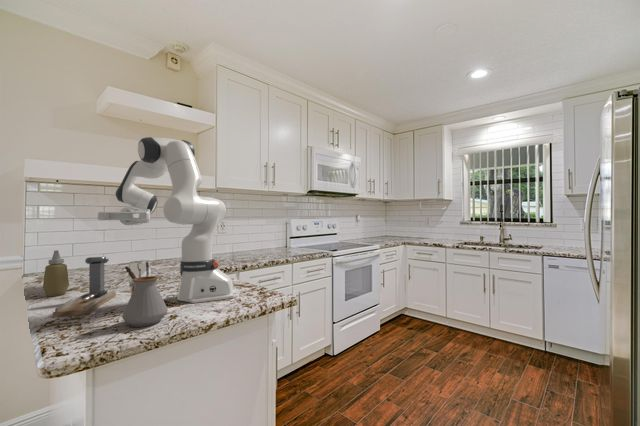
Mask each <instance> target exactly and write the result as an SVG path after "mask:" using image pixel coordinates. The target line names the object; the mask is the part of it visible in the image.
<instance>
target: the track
mask: <svg viewBox="0 0 640 426" xmlns="http://www.w3.org/2000/svg"><path fill="white" fill-rule="evenodd" d="M88 293H89V292H86V293H84V294H82V295H79V296H78V297H76V298H74V299H72V300H70V301H68V302H66V303H64V304H62V305H60V306H58V307H56V308H54V311H53V312H52V318H60V317H62V318H63V317H72V316H73V317H74V316H84V315H88V314H90V313H91V312H93V311H95V310H96V309H98V308H100V307H101V306H102V305H104V304H106V303H107V302H109V301H110V300H112V299H114V298H115V297H117V292H116V291H115V289H112V290H110V291H107V294H105V295H103V296H101V297H94V298H92V299H90V300H88V301H86V302H84V301H83V299H84V298H85V297H86V294H88Z"/></svg>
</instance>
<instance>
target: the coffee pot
mask: <svg viewBox="0 0 640 426" xmlns="http://www.w3.org/2000/svg"><path fill="white" fill-rule="evenodd" d="M124 269H125V270H126V271H123V270H124ZM121 271H122V273H125V272H126V273H127V274H128V273H129V275H130V277H131V278H132V279H133V281H134V282H135V286H136V287H135V289H134V291H133V293H132V295H131V294H130V298H129V299H128V303H127V304H126V306H125V309H124V311H123V312H122V317H121V318H122V319H123V321H124V323H126V324H129V325H130V327H135V328H140V327H148V326H152V325H156V324H158V323H159V322H161V320H162V319H163V318H164V317H165V316H166V315H167V313H168V306H167V305H166V302H165V301H164V298H163V296H162V295H161V293H160V291H159V289H158V287H157V280H158V279H159V276H157V275H155V276H154V275H151V276H147V277H139V278H136V276H135V275H134V273H133V272H132V271H131V269H129V266H125V267H123V268H122V270H121Z"/></svg>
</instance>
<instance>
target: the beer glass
mask: <svg viewBox="0 0 640 426" xmlns="http://www.w3.org/2000/svg"><path fill="white" fill-rule="evenodd" d="M128 267H129V269H131V271H132V272H133V273H134V275H135V276H136V278H139V277H147V276H152V271H151V270H152V269H151V261H150V260H146V259H145V260H133V261H129V262H128ZM127 275H128V276H127V277H128V278H127V279H128V285H129V288H130V296H131V295H132V293H133V291H134V289H135V287H136V286H135V282H134V281H133V279H132V278H131V277H130V275H129V273H128V272H127Z"/></svg>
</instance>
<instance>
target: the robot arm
mask: <svg viewBox="0 0 640 426" xmlns="http://www.w3.org/2000/svg"><path fill="white" fill-rule="evenodd" d="M137 153H138V157H139V158H140V160H136V161H134V162H132V163H131V164H130V166H128V167H129V168H128V170H127V171H126V173H125V175H124V177H123V179H122V181H121V183H120V185H119V186H118V187H117V189H116V191H115V197H116V199H117V201H119V202H121V203H124V204H125V205H126V204H127V205H129V206H126V207H125V206H124V207H123V208H122V209H120V210H119V211H100V212H99V211H98V212H97V220H98V221H119V222H120V223H121V224H122V225H125V226H139V225H142V224H147V223H151V215H152V214H153V213H154V212H155V210H156V208H157V205H158V199H157V196H156V194H153V193H152V192H150V191H147V190H145V189H142V188H140V187H138V186H137V185H135V184H134V183H135V181H136V179H137V178H144V179H157V178H161V177H162V176H164V174H166V172H167V170H168V174H169V177H170V181H171V184H172V186H171V187H172V191H171V195H170V196H169V197H168V198H167V199H166V200H165V202H164V204H163V208H162V209H163V210H162V211H163V215H164V217H165V218H166V220H167V221H168V222H170V223H173V224H176V225H192V227H191V230H190V232H189V233H188V234H187V235H186V236H185V237H183V238H182V241H181V261H180V262H179V274H180V284H179V289H178V294H177V297H176V300H177V301H181V302H188V303H191V304H196V303H203V302H213V301H220V300H227V299H234V298H236V297H238V296H239V294H240V293H239V292H240V291H239V289H238V288H236V287H234V284H233V280H232V278H231V276H230V275H228V274H226V273H225V272H224V271H222V270H220V269H219V262H218V260H216V259H214V258H213V247H214V245H213V244H214V237H215V233H216V231H217V227H218V226H219V225H220V223H221V222H222V221H223V220H224V218H225V217H226V214H227V209H226V204H225V203H224V202H223V200H221V199H218V198H214V197H211V196H202V195H201V196H200V195H198V192H197V189H198V188H199V187H200V186H201V184H202V182H203V177H202V174H201V172H200V171H201V170H200V169H199V166H198V163H197V160H196V158H195V154H196V152H195V147H194V145H193V144H192V143H191V142H190V141H188V140H184V139H177V138H176V139H175V138H168V137H151V136H150V137H142V138H140V140H139V141H138V143H137Z"/></svg>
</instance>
